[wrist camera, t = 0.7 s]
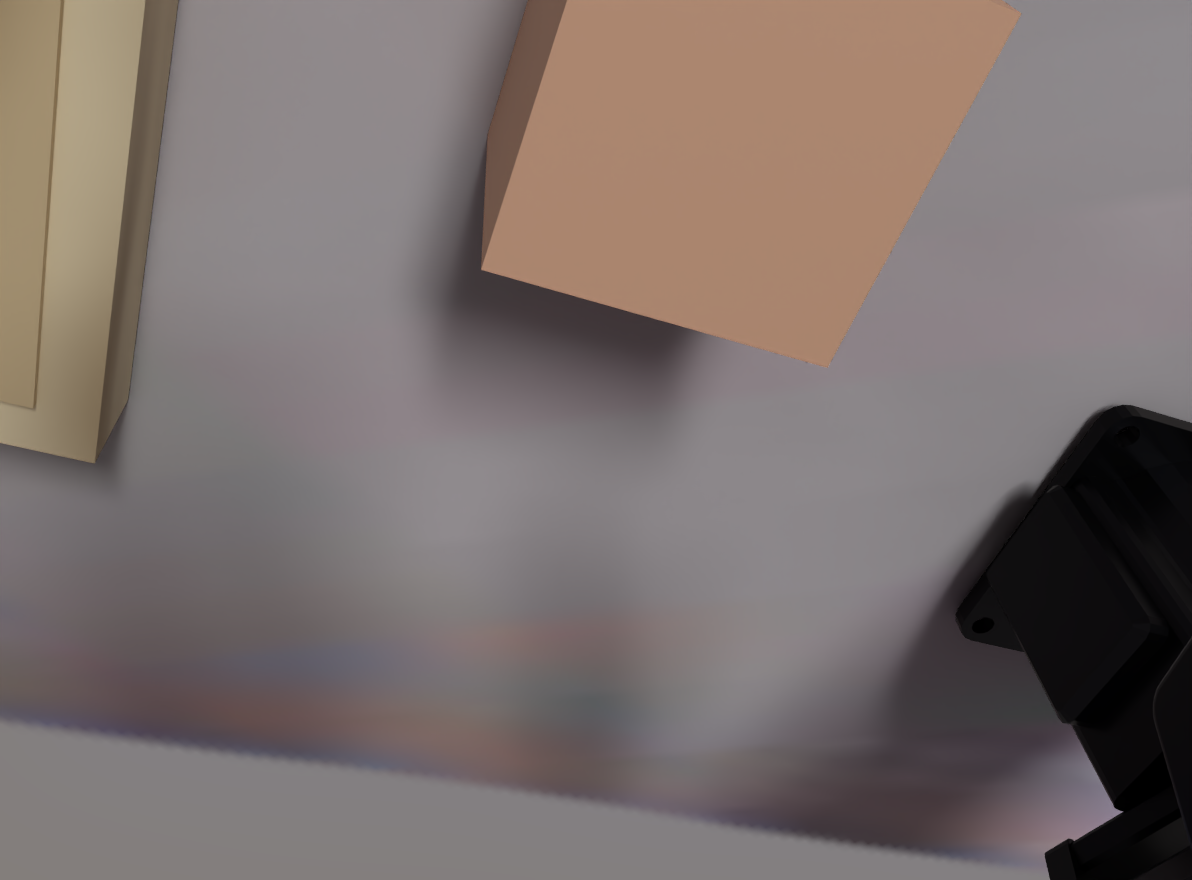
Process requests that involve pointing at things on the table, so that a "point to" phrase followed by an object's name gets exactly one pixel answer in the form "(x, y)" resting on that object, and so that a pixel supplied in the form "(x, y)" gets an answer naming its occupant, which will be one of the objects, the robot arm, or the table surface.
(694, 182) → the cube
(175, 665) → the table surface
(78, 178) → the plinth
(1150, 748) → the robot arm
